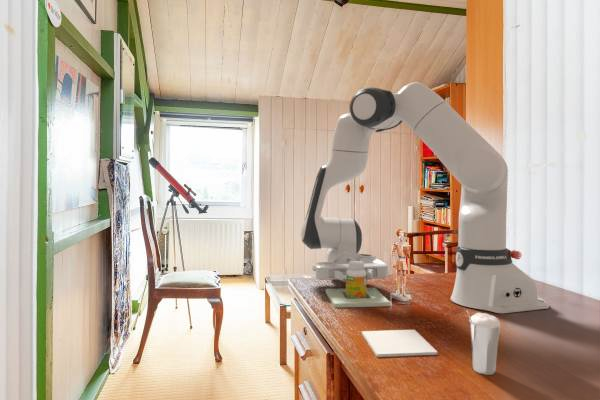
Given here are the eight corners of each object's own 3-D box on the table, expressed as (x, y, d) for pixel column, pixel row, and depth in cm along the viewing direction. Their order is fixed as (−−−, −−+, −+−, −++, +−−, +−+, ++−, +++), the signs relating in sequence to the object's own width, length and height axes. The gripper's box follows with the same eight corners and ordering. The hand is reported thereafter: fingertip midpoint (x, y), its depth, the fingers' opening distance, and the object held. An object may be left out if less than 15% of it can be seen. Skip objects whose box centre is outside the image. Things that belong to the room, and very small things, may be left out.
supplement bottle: (343, 300, 105) (343, 263, 104) (348, 295, 110) (348, 259, 109) (363, 302, 103) (363, 264, 102) (368, 297, 108) (368, 261, 107)
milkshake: (458, 364, 67) (459, 305, 67) (489, 363, 68) (490, 305, 67) (472, 377, 63) (473, 314, 62) (505, 376, 63) (506, 313, 63)
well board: (374, 291, 114) (374, 287, 114) (390, 306, 100) (390, 302, 100) (325, 292, 112) (325, 288, 112) (334, 307, 98) (334, 303, 98)
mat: (414, 331, 82) (414, 329, 82) (437, 354, 71) (437, 351, 71) (361, 333, 81) (361, 331, 81) (376, 357, 70) (376, 354, 70)
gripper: (311, 256, 118) (317, 265, 104) (379, 255, 119) (394, 264, 106) (311, 277, 118) (317, 289, 104) (379, 276, 120) (394, 287, 106)
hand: (356, 276), depth 105 cm, fingers closed on supplement bottle, 5 cm apart
